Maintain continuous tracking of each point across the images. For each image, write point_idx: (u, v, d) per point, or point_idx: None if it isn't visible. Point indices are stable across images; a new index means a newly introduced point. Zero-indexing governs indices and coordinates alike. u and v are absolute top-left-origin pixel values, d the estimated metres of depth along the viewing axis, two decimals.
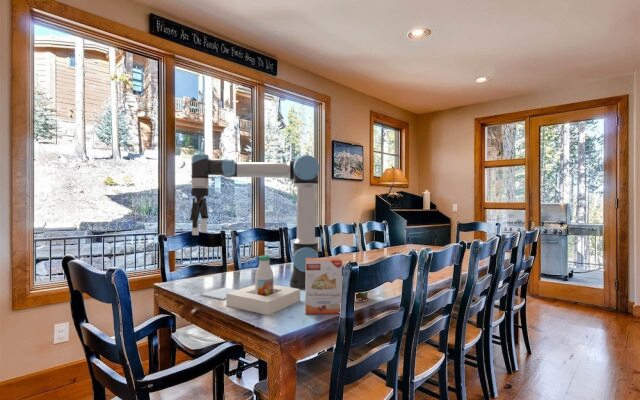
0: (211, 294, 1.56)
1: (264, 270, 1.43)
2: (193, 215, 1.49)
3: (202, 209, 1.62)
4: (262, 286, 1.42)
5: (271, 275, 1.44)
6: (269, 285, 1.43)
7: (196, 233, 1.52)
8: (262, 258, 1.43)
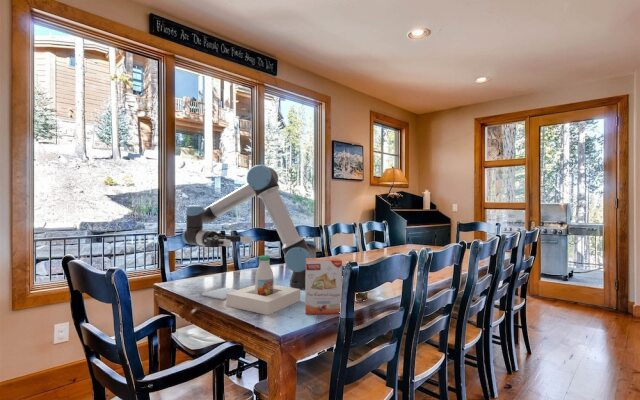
0: (211, 294, 1.56)
1: (264, 270, 1.43)
2: (210, 242, 1.50)
3: (229, 238, 1.62)
4: (262, 286, 1.42)
5: (271, 275, 1.44)
6: (269, 285, 1.43)
7: (228, 241, 1.48)
8: (262, 258, 1.43)
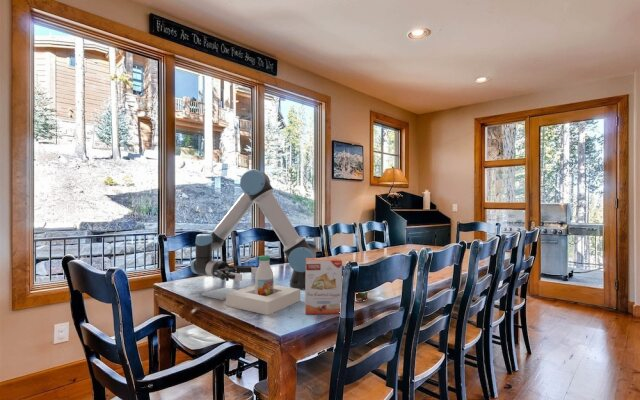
0: (211, 294, 1.56)
1: (264, 270, 1.43)
2: (221, 276, 1.45)
3: (239, 269, 1.57)
4: (262, 286, 1.42)
5: (271, 275, 1.44)
6: (269, 285, 1.43)
7: (239, 276, 1.43)
8: (262, 258, 1.43)
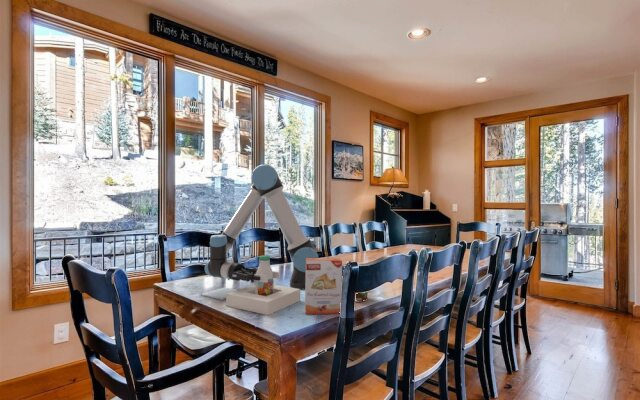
0: (211, 294, 1.56)
1: (264, 270, 1.43)
2: (245, 278, 1.41)
3: (255, 272, 1.51)
4: (262, 286, 1.42)
5: (271, 275, 1.44)
6: (269, 285, 1.43)
7: (265, 277, 1.39)
8: (262, 258, 1.43)
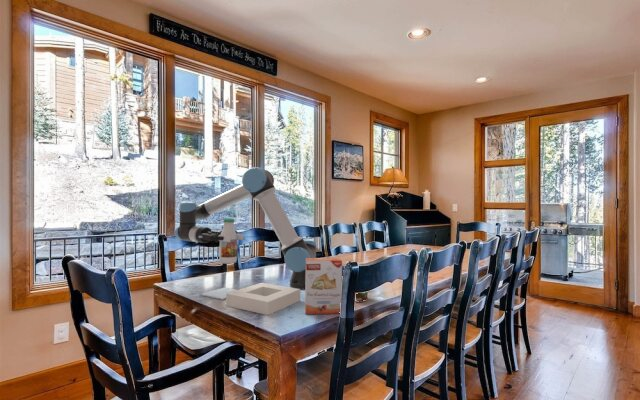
0: (211, 294, 1.56)
1: (228, 231, 1.54)
2: (210, 238, 1.52)
3: (220, 235, 1.62)
4: (226, 245, 1.52)
5: (234, 236, 1.55)
6: (232, 245, 1.53)
7: (228, 237, 1.50)
8: (226, 220, 1.54)
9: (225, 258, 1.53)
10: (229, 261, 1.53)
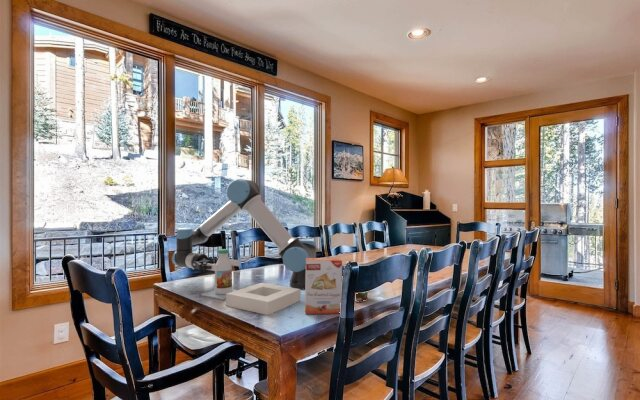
0: (211, 294, 1.56)
1: (222, 262, 1.56)
2: (198, 267, 1.53)
3: None
4: (221, 277, 1.55)
5: (229, 267, 1.57)
6: (227, 276, 1.56)
7: (215, 266, 1.51)
8: (220, 251, 1.57)
9: (221, 289, 1.55)
10: (224, 292, 1.56)
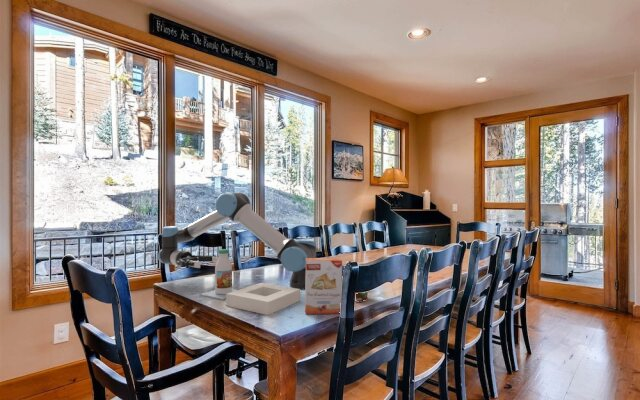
0: (211, 294, 1.56)
1: (222, 262, 1.56)
2: (181, 264, 1.59)
3: (201, 258, 1.72)
4: (221, 277, 1.55)
5: (229, 267, 1.57)
6: (227, 276, 1.56)
7: (197, 263, 1.57)
8: (221, 251, 1.57)
9: (221, 289, 1.55)
10: (224, 292, 1.56)
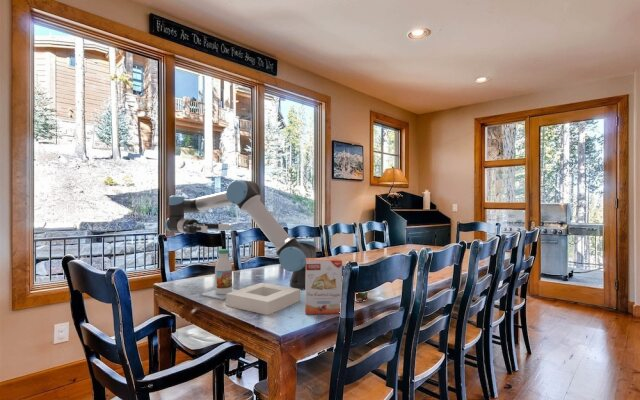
0: (211, 294, 1.56)
1: (222, 262, 1.56)
2: (188, 228, 1.62)
3: (208, 226, 1.74)
4: (221, 277, 1.55)
5: (229, 267, 1.57)
6: (227, 276, 1.56)
7: (204, 227, 1.60)
8: (221, 251, 1.57)
9: (220, 289, 1.55)
10: (224, 292, 1.55)
